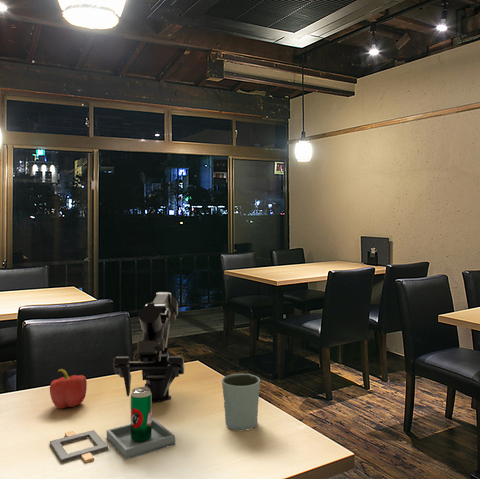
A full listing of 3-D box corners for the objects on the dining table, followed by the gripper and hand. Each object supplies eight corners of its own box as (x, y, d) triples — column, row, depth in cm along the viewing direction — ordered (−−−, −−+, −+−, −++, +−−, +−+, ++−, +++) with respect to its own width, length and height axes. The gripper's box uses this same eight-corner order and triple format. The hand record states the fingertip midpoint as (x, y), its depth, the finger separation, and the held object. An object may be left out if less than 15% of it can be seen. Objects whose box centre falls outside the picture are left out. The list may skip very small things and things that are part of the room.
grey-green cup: (265, 420, 122) (265, 376, 122) (250, 435, 113) (250, 388, 113) (232, 413, 126) (232, 371, 126) (215, 427, 117) (215, 382, 117)
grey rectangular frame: (90, 428, 116) (90, 425, 116) (112, 454, 103) (112, 451, 103) (46, 439, 110) (46, 436, 110) (65, 468, 97) (64, 465, 97)
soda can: (152, 442, 108) (152, 392, 108) (130, 444, 107) (130, 394, 106) (151, 432, 113) (151, 385, 113) (130, 434, 112) (130, 387, 111)
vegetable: (42, 405, 132) (41, 371, 132) (74, 396, 140) (74, 364, 140) (60, 415, 125) (60, 380, 125) (93, 405, 133) (93, 371, 132)
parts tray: (152, 426, 118) (152, 418, 118) (174, 444, 108) (174, 435, 108) (106, 439, 111) (106, 430, 111) (125, 459, 101) (125, 450, 101)
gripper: (114, 327, 121) (103, 382, 110) (183, 326, 122) (179, 381, 111) (120, 348, 129) (111, 401, 118) (185, 347, 130) (182, 400, 119)
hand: (145, 395), depth 117 cm, fingers open, 9 cm apart
